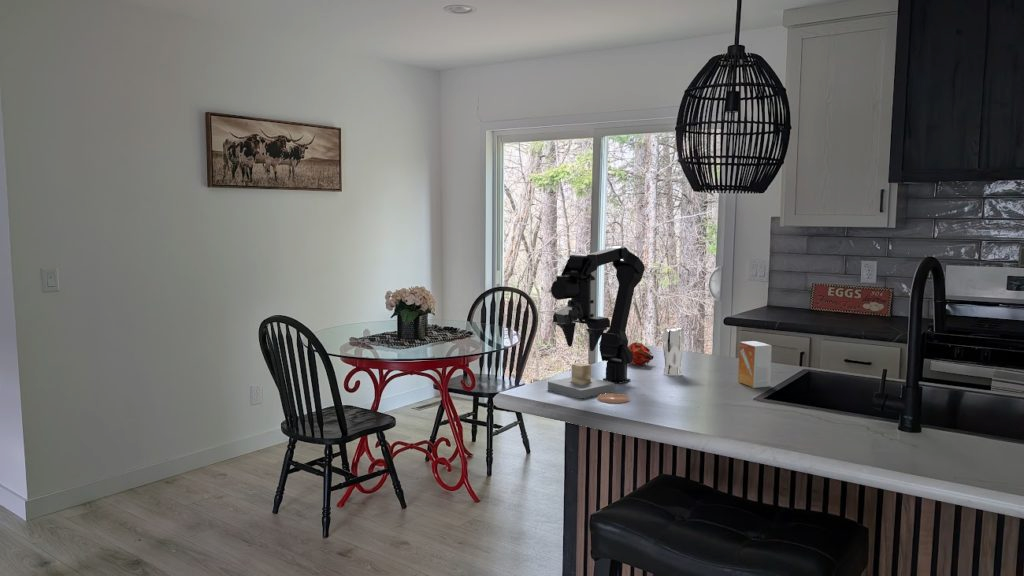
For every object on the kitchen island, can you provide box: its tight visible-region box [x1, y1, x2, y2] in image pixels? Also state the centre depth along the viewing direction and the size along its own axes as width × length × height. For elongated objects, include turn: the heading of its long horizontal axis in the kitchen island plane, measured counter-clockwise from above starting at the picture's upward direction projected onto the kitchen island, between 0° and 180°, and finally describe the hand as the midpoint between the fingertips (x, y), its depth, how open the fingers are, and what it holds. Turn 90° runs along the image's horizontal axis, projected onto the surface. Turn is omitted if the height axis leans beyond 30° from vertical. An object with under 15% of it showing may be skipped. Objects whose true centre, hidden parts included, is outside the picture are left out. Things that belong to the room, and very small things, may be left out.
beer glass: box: [662, 327, 686, 377], centre depth 240 cm, size 7×7×15 cm
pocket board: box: [547, 376, 616, 400], centre depth 218 cm, size 14×14×2 cm
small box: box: [737, 340, 773, 389], centre depth 227 cm, size 8×6×13 cm
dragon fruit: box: [628, 341, 654, 367], centre depth 256 cm, size 8×8×12 cm
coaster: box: [597, 392, 630, 404], centre depth 208 cm, size 9×9×1 cm
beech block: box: [571, 362, 592, 385], centre depth 218 cm, size 4×4×8 cm
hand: (580, 348), depth 217 cm, fingers open, 9 cm apart
